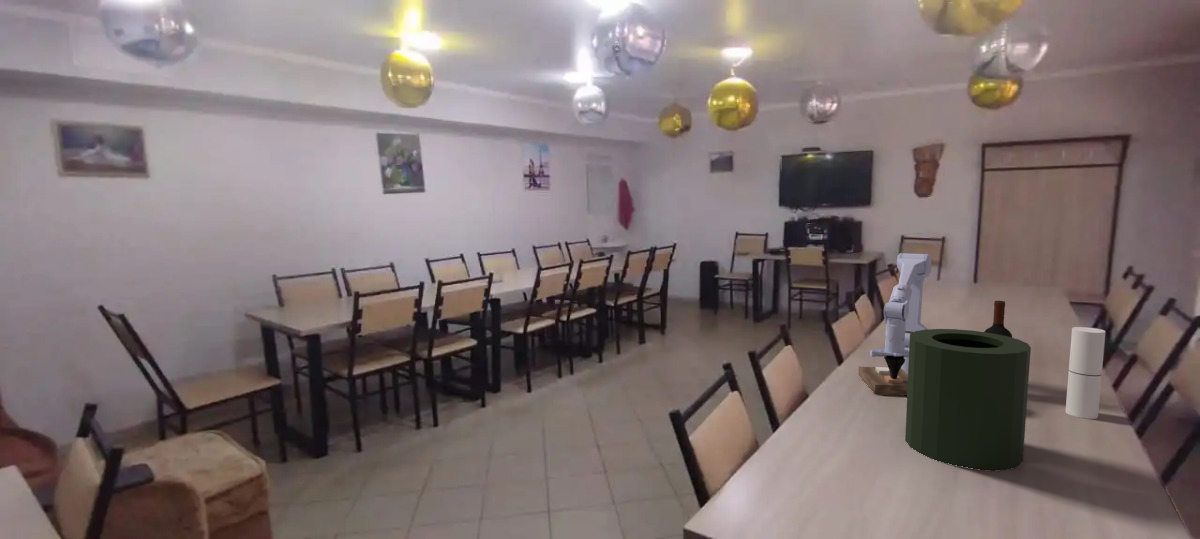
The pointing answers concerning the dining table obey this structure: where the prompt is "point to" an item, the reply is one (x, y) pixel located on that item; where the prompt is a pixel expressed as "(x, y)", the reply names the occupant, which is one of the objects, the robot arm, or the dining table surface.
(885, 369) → the off white key
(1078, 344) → the cylindrical container
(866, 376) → the key panel
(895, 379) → the salmon orange square block
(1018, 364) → the flower pot
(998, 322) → the wine bottle
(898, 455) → the dining table surface
